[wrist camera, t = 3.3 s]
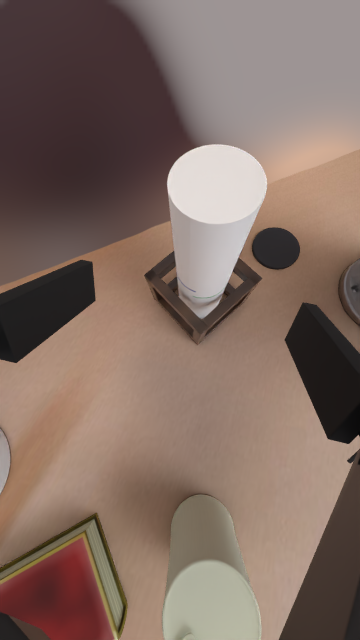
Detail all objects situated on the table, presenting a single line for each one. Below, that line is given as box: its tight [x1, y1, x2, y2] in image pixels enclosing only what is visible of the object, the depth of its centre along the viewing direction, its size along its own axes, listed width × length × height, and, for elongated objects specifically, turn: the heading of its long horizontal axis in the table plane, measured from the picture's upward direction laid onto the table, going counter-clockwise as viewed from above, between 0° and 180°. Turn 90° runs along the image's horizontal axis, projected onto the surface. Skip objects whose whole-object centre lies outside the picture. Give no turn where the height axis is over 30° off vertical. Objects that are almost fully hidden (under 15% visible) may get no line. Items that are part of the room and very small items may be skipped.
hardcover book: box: [0, 513, 127, 640], centre depth 27 cm, size 12×21×4 cm, turn 117°
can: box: [162, 495, 261, 640], centre depth 25 cm, size 9×9×12 cm
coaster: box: [252, 228, 300, 269], centre depth 41 cm, size 9×9×1 cm
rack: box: [144, 251, 262, 345], centre depth 34 cm, size 12×12×10 cm
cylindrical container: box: [167, 145, 267, 319], centre depth 27 cm, size 7×7×25 cm
